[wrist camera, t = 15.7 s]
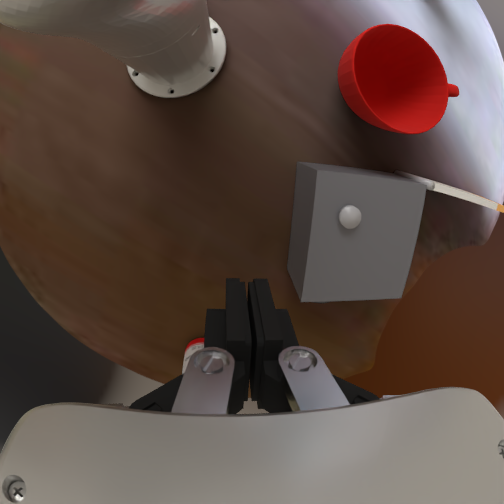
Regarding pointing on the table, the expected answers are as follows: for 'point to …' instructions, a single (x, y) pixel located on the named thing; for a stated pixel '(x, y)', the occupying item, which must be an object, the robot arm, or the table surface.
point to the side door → (452, 191)
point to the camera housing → (352, 232)
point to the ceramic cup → (394, 80)
